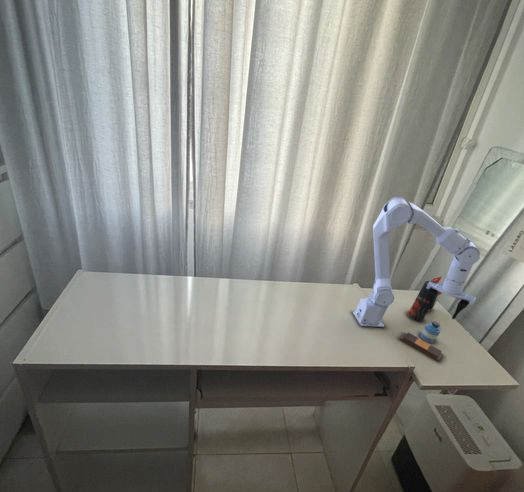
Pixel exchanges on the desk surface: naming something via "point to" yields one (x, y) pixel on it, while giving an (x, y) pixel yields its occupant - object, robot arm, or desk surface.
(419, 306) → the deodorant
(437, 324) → the bottle
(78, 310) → the desk surface
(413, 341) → the snack bar
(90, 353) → the desk surface
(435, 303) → the ink box
